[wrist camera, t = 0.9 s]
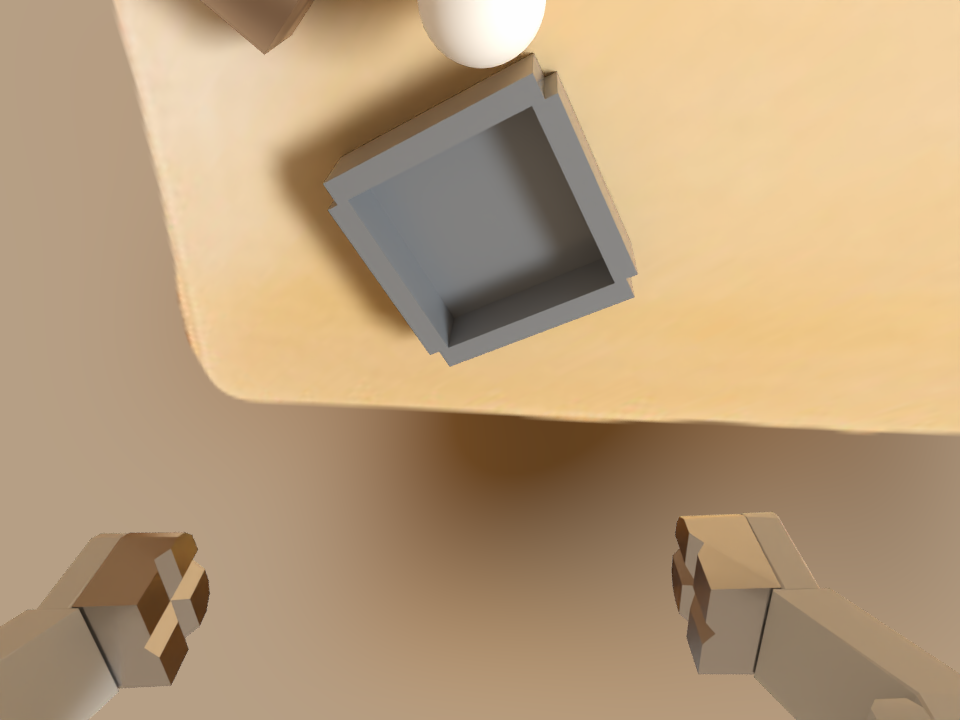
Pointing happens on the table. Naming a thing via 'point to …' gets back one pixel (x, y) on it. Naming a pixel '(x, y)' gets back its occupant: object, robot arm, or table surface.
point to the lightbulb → (481, 28)
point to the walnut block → (261, 19)
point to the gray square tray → (486, 216)
